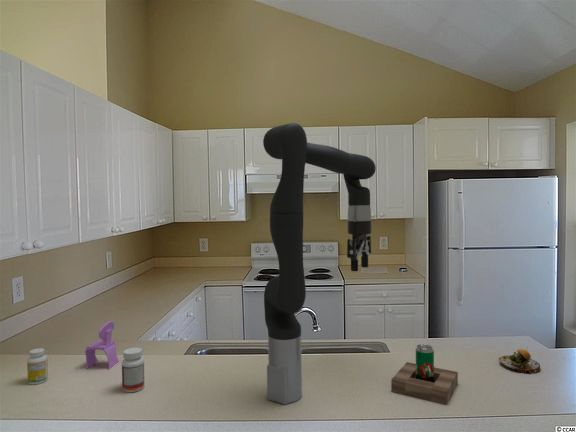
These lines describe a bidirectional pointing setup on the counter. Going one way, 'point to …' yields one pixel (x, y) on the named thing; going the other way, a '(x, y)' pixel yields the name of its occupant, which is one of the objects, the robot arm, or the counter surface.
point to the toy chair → (103, 347)
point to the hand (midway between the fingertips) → (359, 269)
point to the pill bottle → (132, 370)
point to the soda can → (425, 363)
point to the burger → (520, 362)
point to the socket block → (425, 384)
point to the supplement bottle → (37, 367)
